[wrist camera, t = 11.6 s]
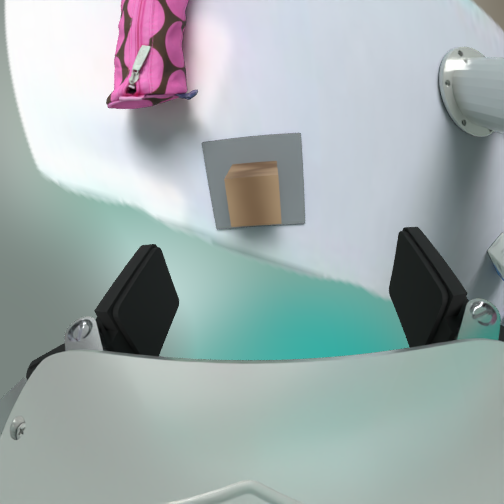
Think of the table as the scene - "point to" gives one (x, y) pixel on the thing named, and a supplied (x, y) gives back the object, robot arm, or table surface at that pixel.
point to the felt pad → (257, 150)
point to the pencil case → (149, 54)
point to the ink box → (498, 255)
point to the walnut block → (253, 194)
